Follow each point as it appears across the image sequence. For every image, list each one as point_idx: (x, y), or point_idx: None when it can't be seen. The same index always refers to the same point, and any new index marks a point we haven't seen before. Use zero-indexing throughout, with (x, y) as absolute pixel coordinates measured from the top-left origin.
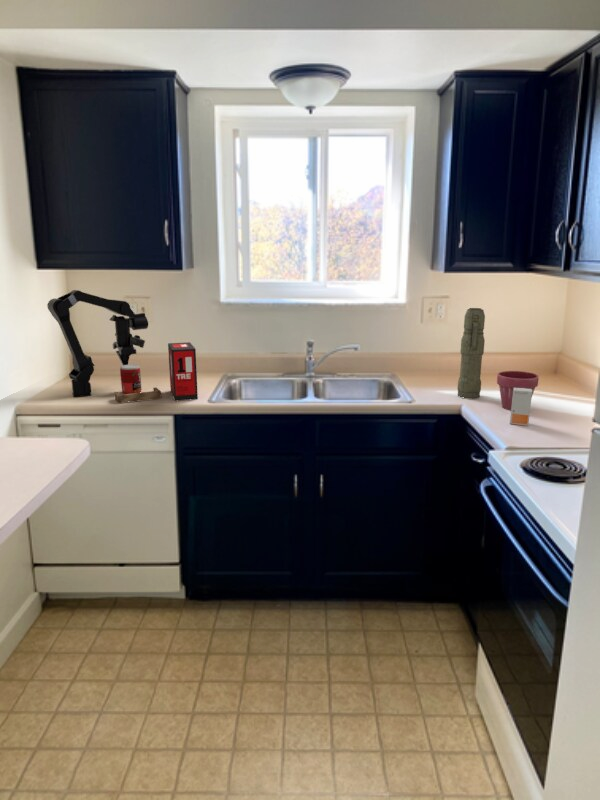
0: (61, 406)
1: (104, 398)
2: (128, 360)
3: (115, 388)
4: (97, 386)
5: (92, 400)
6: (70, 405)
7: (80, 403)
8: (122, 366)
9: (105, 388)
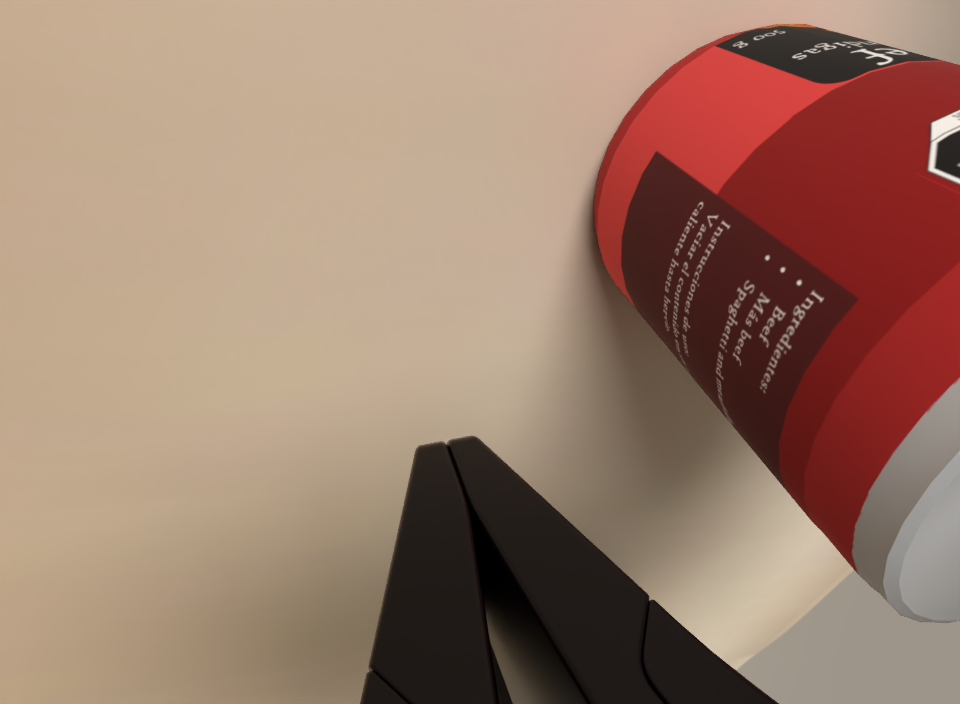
0: (769, 639)
1: None
2: (659, 609)
3: (358, 371)
4: (154, 560)
5: (761, 519)
6: (785, 607)
7: (783, 570)
8: (945, 589)
9: (311, 475)
